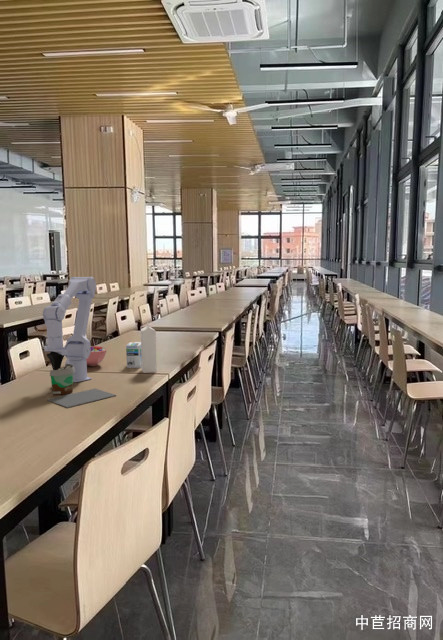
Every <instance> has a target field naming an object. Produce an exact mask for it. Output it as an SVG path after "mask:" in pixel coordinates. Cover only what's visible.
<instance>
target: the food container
mask: <svg viewBox="0 0 443 640" xmlns="http://www.w3.org/2000/svg"><path fill="white" fill-rule="evenodd" d="M74 372H75V369H74V367H73V365H71V364H66V366H65V365H64V366H62V367H61V368H58V369H57V370H53V369H50V370H49V377H50V382H51V389H52V391H51V392H52V397H60V396H64V395H68V394H73V393H74V392H73V391H74V382H73V373H74Z"/></svg>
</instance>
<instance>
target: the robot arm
mask: <svg viewBox="0 0 443 640" xmlns="http://www.w3.org/2000/svg"><path fill="white" fill-rule="evenodd" d="M96 289H97V283H96V280H95V277H93V276H71V277H70V279H69V280H68V287H67V288H66V289H65V290H64V293H61V294H58V295H57V297H56V298H55V299H54V301H52V303H51V304H50V305H47V306H46V307H44V308H43V311H42V319H43V320H44V325H45V326H46V340H47V345H44V346H43V349H44V352H49V353H46V357H47V358H48V359H49V362H50V366H51V368H52V370H57V369H58V368H62V363H63V359H64V358H66V361H65V363H64V367H65V366H66V364H71V365H73V367H74V369H75V372H74V373H73V383H79V382H84V381H88V380H89V381H90V380H92V377H89V376H88V366H87V361H86V359H87V358H88V357H89V355H90V352H91V349H90V346H91V341H90V340H89V339H88V338H87V337H86V336H87V330H88V324H89V318H90V312H91V307H92V301H93V299H94V298H95V295H96ZM74 297H75V298H77V299H78V306H77V311H76V316H75V321H74V322H75V323H74V329H73V333H72V335H71V336H70V337H68V338H67V339H66V341H65V342H66V343H65V345H64V338H63V337H64V335H63V320H64V319H65V316H66V312H67V310H68V309H69V307H70V306H71V305H72V299H73V298H74Z"/></svg>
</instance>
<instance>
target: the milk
mask: <svg viewBox="0 0 443 640" xmlns="http://www.w3.org/2000/svg"><path fill="white" fill-rule="evenodd" d="M156 332H157V331H156V329H154V328H152V327H151V326H150V323H149V322H146V326H144V327H143V328H141V329H140V342H141V359H142V366H141V371H142V372H143V374H144V373H146V374H147V373H157V372H158V371H157V340H156V339H157V337H156V336H157V335H156Z"/></svg>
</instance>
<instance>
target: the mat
mask: <svg viewBox="0 0 443 640" xmlns="http://www.w3.org/2000/svg"><path fill="white" fill-rule="evenodd" d="M114 397H117V395H116V394H114V393H112V392H111V393H110V392H108V391H105V390H102V389H99V388H91V389H86V390H83V391H82V390H81V391H78V392H72V393H70V394H67V395H61V396H54V397H51V398H47V399H46V400H47V401H48V402H49V403H50V402H51V403H54V405H55V404H56V405H59V406H61V407H64V408H65V409H69V408H73V407H77V406H81V405H85V404H90V403H94V402H98V401H101V400H105V399H110V398H114Z"/></svg>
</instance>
